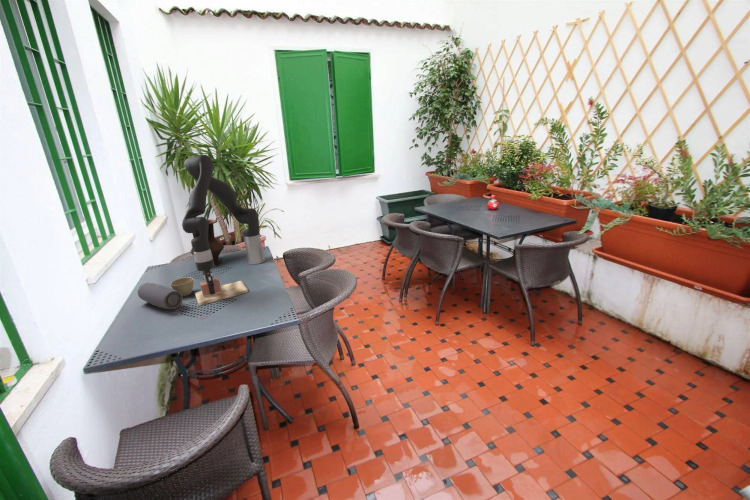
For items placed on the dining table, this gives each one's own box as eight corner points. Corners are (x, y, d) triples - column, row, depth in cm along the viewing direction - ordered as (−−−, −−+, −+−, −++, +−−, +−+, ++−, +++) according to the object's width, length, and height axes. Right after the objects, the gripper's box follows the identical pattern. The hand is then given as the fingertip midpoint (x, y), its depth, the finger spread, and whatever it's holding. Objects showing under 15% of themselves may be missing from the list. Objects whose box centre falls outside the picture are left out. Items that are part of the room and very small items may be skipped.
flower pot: (199, 293, 169) (196, 280, 167) (178, 300, 163) (174, 287, 160) (192, 288, 176) (188, 275, 174) (171, 295, 169) (167, 282, 167)
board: (241, 283, 178) (241, 280, 178) (248, 292, 167) (247, 289, 166) (195, 295, 167) (194, 292, 167) (199, 305, 156) (198, 302, 156)
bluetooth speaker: (186, 306, 157) (181, 286, 154) (166, 315, 149) (160, 294, 146) (159, 297, 168) (154, 278, 165) (139, 305, 161) (133, 286, 157)
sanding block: (220, 289, 168) (217, 278, 166) (221, 292, 165) (219, 281, 163) (202, 294, 164) (199, 282, 162) (203, 297, 161) (201, 285, 159)
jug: (201, 260, 218) (190, 214, 209) (230, 257, 220) (221, 211, 210) (187, 272, 199) (174, 222, 189) (220, 269, 200) (209, 219, 190)
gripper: (215, 261, 155) (222, 295, 160) (210, 253, 166) (217, 285, 172) (196, 265, 151) (205, 299, 157) (193, 257, 163) (201, 289, 168)
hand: (211, 292), depth 164 cm, fingers closed on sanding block, 4 cm apart
